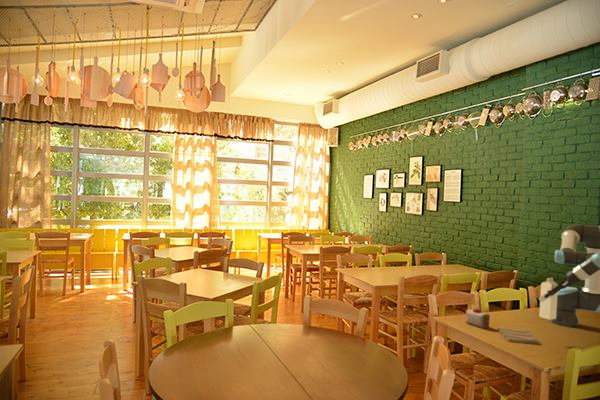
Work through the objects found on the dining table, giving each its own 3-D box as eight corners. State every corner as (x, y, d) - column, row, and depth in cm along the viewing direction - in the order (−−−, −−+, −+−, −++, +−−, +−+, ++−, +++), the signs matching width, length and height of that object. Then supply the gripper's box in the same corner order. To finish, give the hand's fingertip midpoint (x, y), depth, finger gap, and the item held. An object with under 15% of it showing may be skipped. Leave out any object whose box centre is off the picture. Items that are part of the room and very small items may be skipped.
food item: (463, 322, 266) (464, 306, 266) (471, 321, 270) (472, 305, 270) (482, 329, 255) (483, 312, 254) (491, 327, 259) (492, 311, 259)
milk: (556, 318, 237) (559, 279, 237) (549, 319, 234) (552, 279, 234) (545, 315, 243) (548, 276, 242) (538, 316, 240) (541, 277, 239)
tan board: (497, 330, 254) (497, 327, 254) (526, 333, 252) (526, 330, 252) (507, 341, 235) (508, 338, 235) (539, 344, 232) (539, 341, 232)
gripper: (580, 283, 221) (542, 308, 231) (585, 278, 236) (550, 302, 247) (569, 271, 224) (532, 296, 234) (574, 267, 240) (540, 291, 250)
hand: (541, 299), depth 241 cm, fingers closed on milk, 8 cm apart
